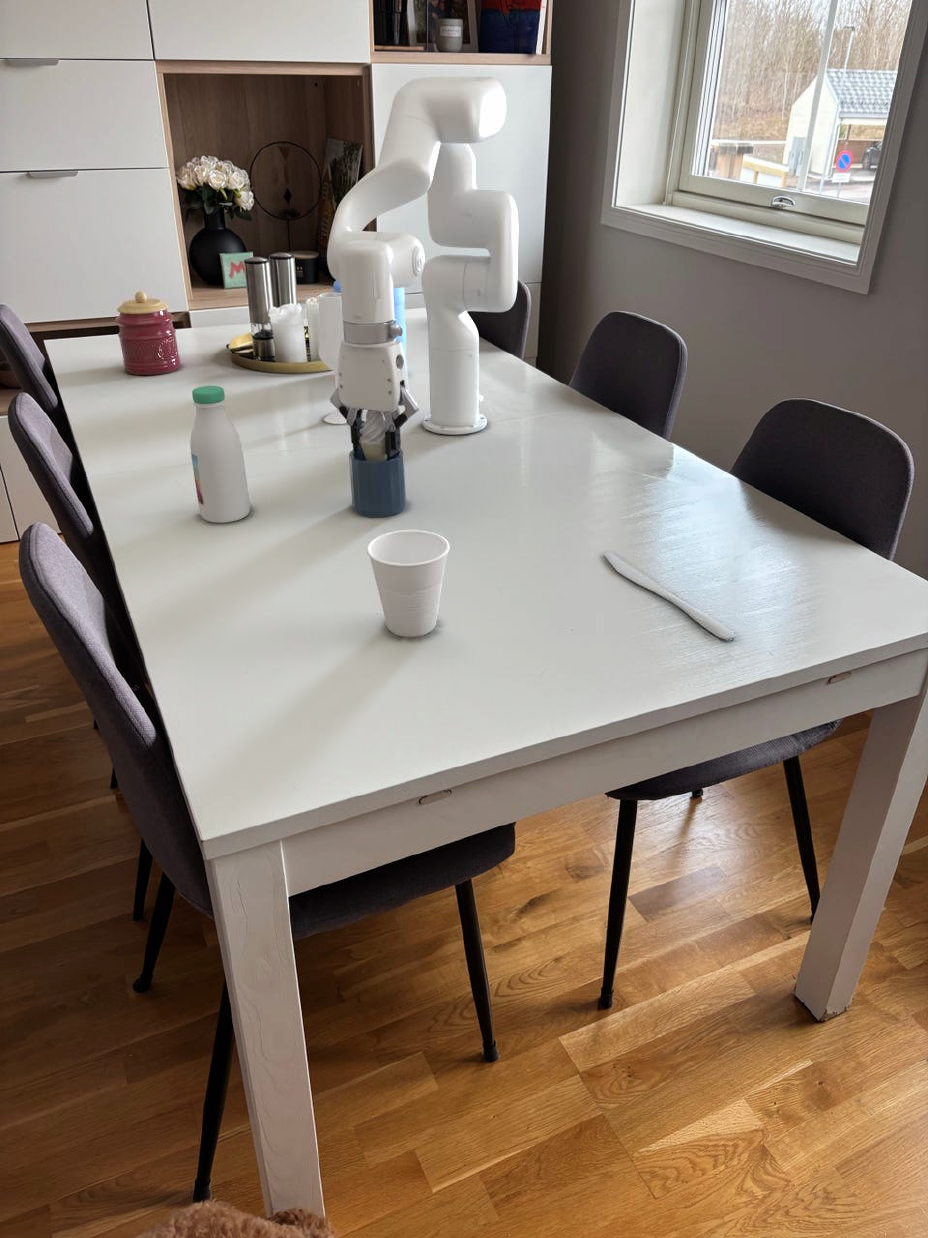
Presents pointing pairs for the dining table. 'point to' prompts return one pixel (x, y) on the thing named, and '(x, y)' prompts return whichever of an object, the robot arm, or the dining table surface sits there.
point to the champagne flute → (331, 340)
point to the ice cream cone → (374, 436)
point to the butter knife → (670, 597)
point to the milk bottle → (217, 459)
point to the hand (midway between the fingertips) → (376, 449)
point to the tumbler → (377, 484)
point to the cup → (409, 578)
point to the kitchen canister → (147, 336)
